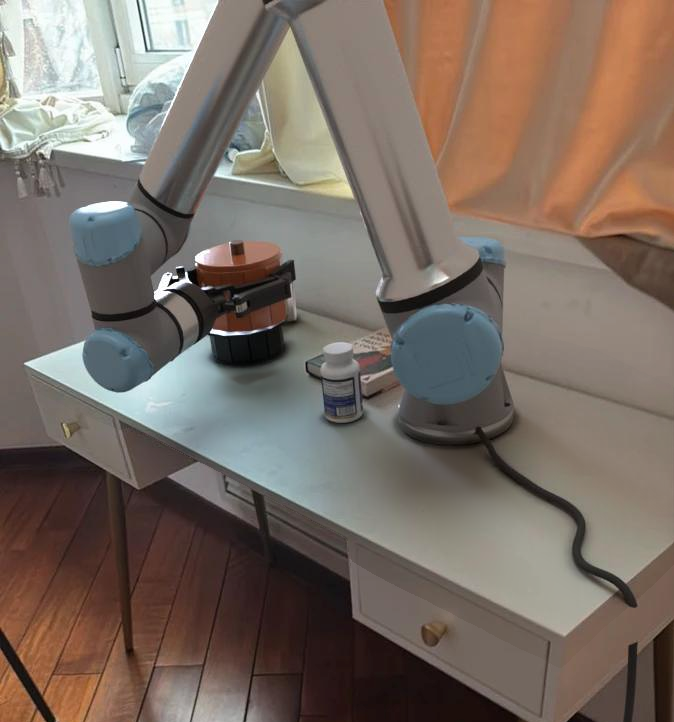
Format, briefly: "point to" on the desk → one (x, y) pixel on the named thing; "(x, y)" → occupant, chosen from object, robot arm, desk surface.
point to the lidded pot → (242, 279)
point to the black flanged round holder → (248, 345)
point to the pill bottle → (341, 383)
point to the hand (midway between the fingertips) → (252, 267)
